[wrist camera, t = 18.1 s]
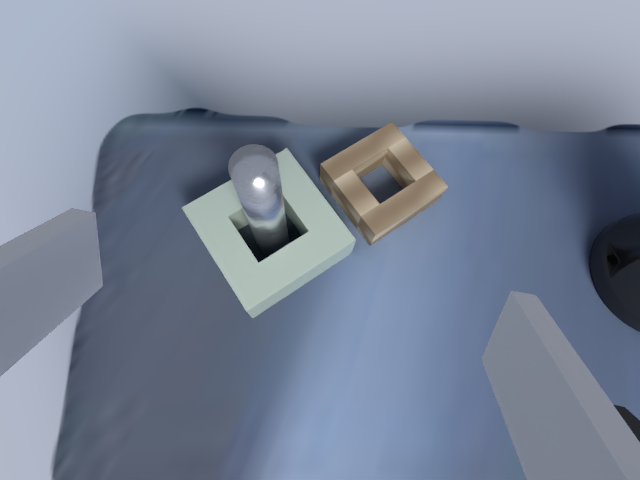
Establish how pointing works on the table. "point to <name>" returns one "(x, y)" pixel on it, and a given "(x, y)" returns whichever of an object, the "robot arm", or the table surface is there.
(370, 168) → the maple sleeve
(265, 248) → the cylinder
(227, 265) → the sage rack
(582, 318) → the table surface
